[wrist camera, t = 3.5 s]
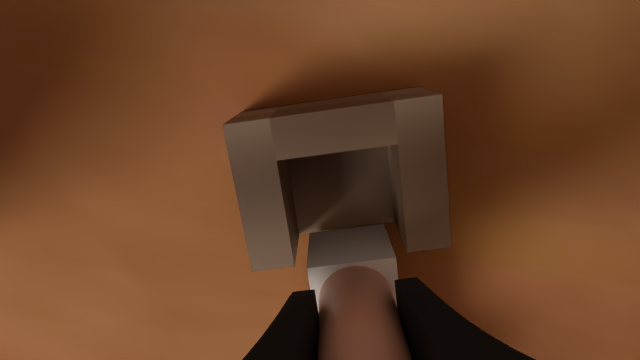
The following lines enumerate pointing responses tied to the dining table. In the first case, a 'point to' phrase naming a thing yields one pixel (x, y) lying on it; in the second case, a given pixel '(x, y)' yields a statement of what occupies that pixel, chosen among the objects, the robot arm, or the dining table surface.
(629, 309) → the dining table surface
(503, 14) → the dining table surface
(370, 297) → the sliding bolt
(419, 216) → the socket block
